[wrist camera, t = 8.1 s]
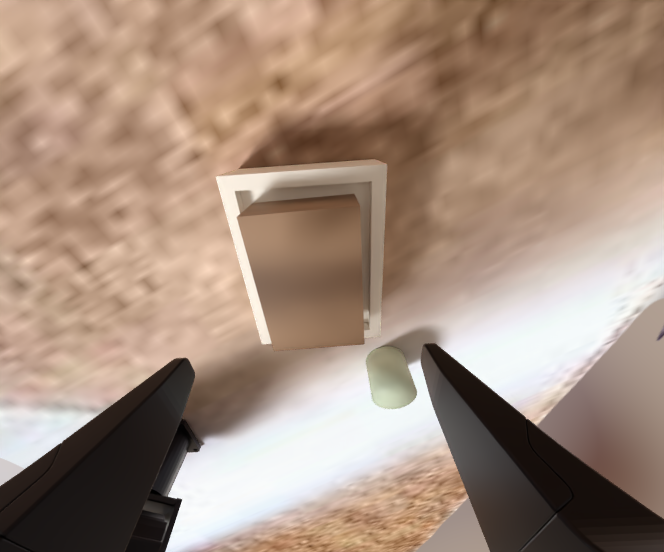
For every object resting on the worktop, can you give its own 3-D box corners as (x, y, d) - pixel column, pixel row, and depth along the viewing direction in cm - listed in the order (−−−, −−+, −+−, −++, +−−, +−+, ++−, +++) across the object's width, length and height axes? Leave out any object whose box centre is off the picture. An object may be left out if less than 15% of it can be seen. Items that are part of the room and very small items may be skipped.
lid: (359, 315, 19) (364, 344, 16) (281, 321, 19) (273, 351, 16) (354, 193, 14) (360, 205, 12) (252, 203, 15) (236, 217, 12)
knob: (402, 372, 26) (414, 407, 23) (365, 374, 27) (371, 410, 23) (406, 344, 25) (419, 379, 21) (365, 347, 25) (372, 381, 21)
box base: (372, 307, 22) (380, 337, 19) (271, 313, 22) (261, 344, 19) (375, 158, 16) (387, 164, 13) (238, 168, 16) (215, 176, 13)
